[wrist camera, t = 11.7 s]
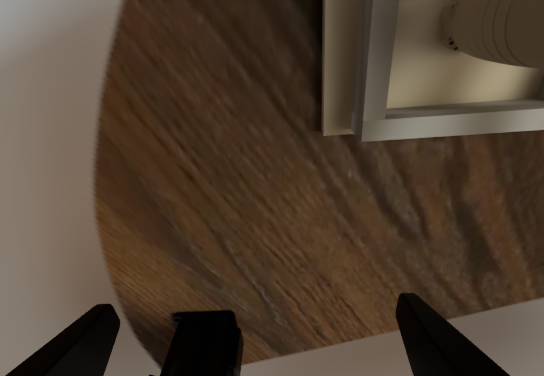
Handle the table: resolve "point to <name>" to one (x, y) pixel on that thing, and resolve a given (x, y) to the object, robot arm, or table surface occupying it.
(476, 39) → the handle
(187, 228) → the table surface
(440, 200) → the table surface
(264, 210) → the table surface
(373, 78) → the board
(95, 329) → the robot arm
